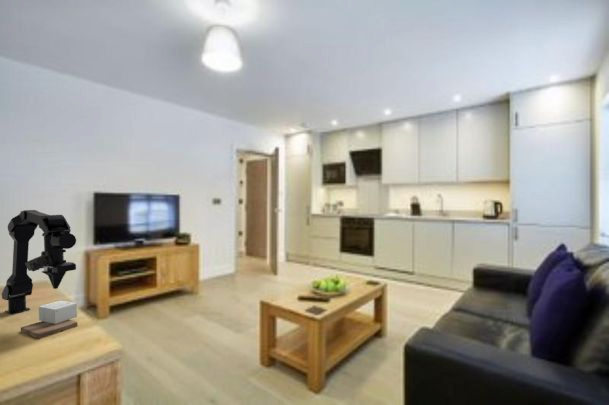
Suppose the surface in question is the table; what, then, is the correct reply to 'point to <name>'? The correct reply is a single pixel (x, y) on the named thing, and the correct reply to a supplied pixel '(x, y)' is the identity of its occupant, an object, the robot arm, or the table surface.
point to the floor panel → (47, 328)
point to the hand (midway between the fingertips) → (55, 288)
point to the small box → (57, 312)
